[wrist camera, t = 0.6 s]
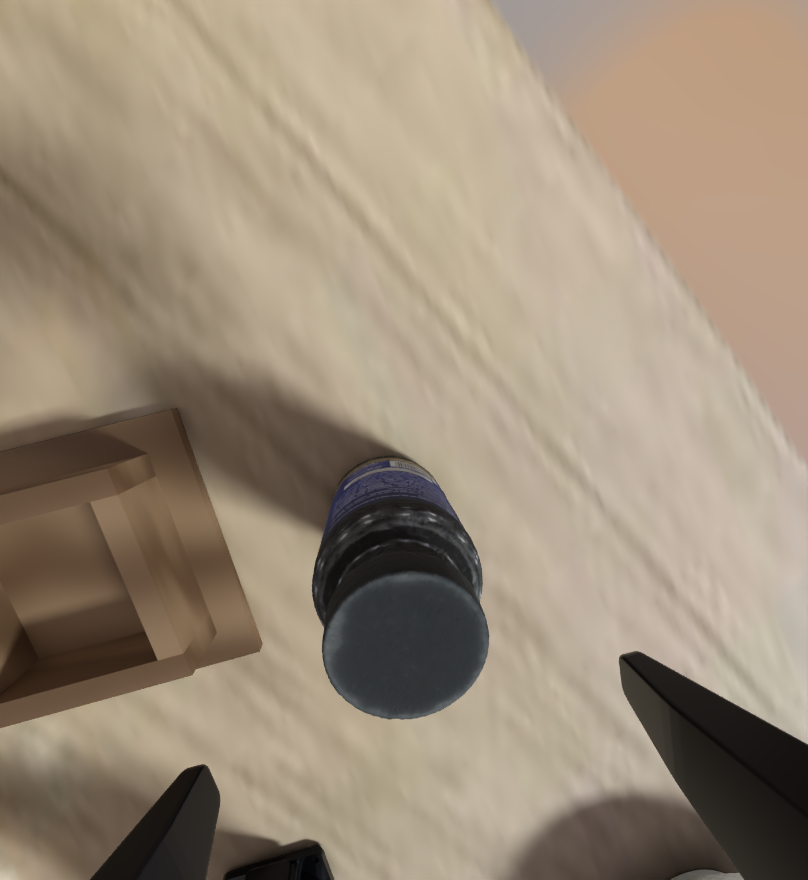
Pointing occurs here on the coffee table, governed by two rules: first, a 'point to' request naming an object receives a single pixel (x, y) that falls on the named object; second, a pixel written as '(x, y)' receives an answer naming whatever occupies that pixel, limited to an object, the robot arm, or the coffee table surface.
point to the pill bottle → (398, 593)
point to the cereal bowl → (708, 875)
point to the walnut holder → (111, 569)
